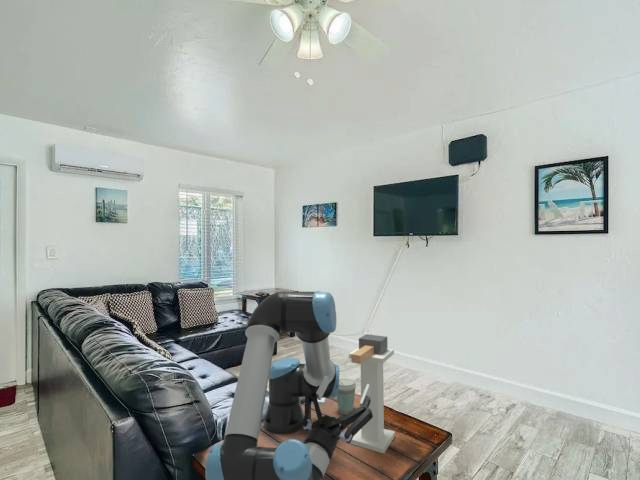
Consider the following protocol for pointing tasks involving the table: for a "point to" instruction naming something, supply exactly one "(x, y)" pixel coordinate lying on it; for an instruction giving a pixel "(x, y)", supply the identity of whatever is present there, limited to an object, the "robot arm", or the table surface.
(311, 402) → the external hard drive
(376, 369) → the tall stand
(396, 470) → the table surface
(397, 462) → the table surface
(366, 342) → the hammer
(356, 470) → the table surface
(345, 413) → the coffee cup
